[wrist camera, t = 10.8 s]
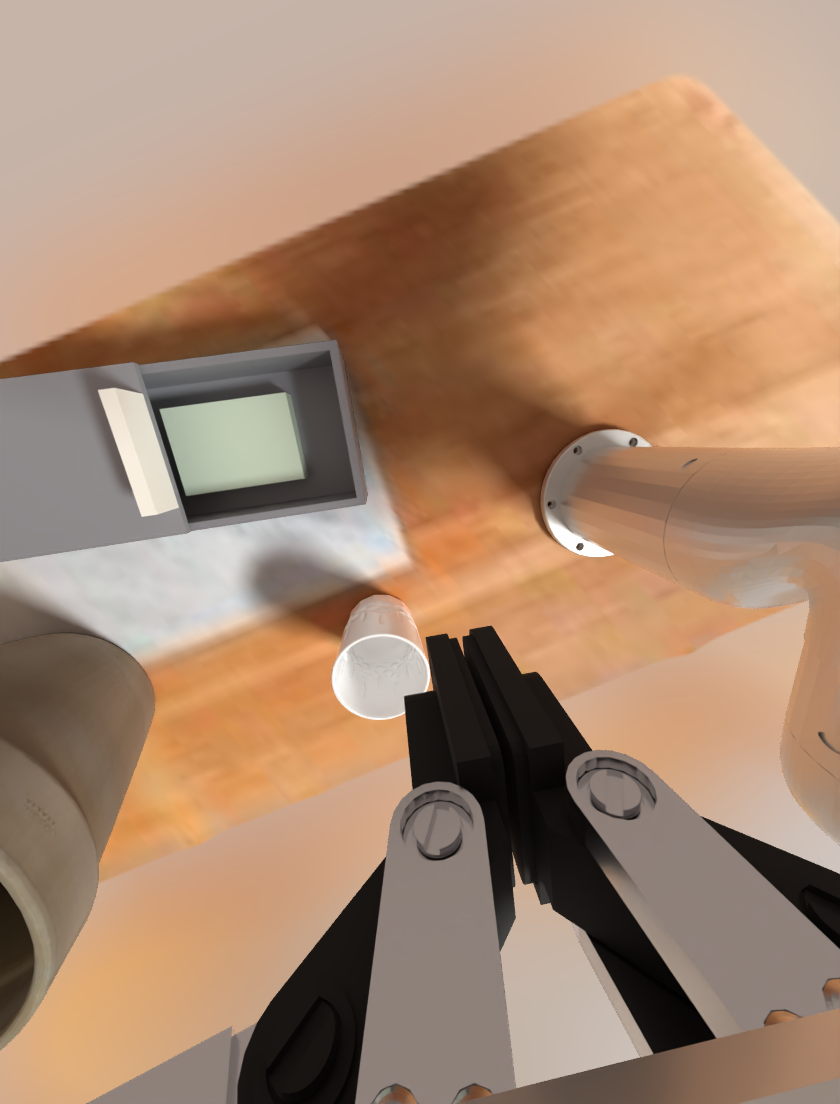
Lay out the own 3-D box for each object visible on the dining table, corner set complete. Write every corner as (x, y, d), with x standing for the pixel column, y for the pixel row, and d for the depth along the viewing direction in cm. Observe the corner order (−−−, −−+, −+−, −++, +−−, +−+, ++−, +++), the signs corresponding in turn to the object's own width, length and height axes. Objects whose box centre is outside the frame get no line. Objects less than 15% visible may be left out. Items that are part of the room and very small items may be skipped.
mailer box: (343, 357, 34) (336, 339, 28) (367, 494, 37) (365, 504, 31) (105, 388, 32) (46, 376, 27) (152, 527, 36) (109, 543, 30)
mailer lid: (138, 363, 27) (102, 352, 23) (190, 531, 30) (166, 542, 27) (-173, 403, 26) (-259, 397, 22) (-83, 573, 29) (-145, 591, 26)
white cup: (334, 596, 40) (320, 645, 30) (410, 581, 40) (420, 624, 30) (352, 663, 42) (343, 729, 32) (424, 648, 42) (437, 708, 32)
